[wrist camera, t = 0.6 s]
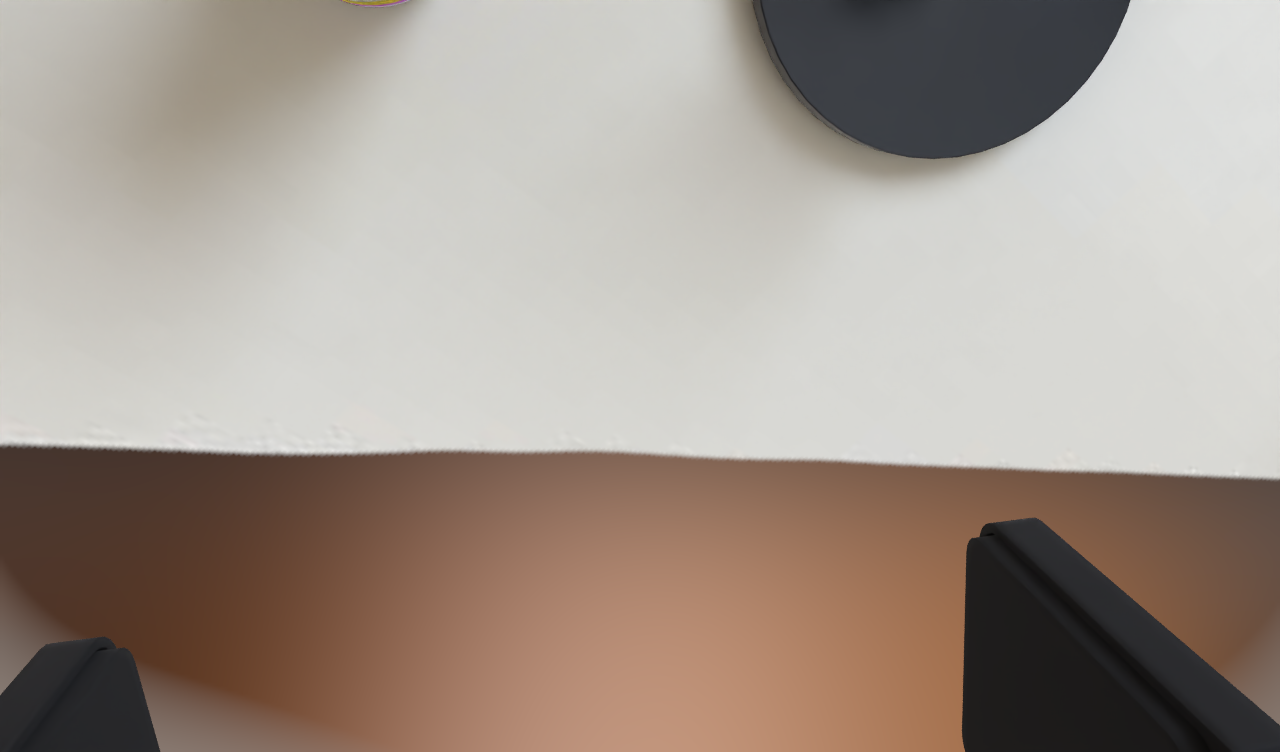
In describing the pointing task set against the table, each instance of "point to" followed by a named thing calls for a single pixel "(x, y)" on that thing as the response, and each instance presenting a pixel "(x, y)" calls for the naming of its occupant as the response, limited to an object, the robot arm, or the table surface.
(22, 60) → the table surface
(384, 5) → the supplement bottle
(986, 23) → the stand
